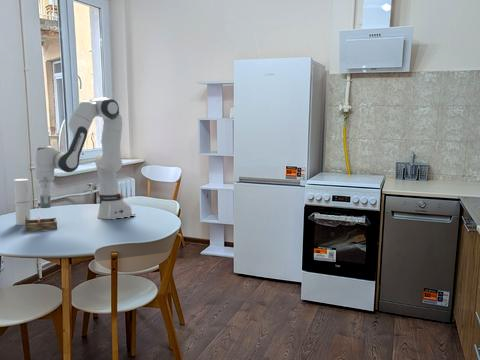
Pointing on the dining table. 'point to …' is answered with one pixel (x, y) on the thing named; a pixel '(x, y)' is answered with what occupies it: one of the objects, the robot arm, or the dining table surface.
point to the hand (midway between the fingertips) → (45, 201)
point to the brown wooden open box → (40, 224)
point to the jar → (45, 205)
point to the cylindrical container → (21, 200)
